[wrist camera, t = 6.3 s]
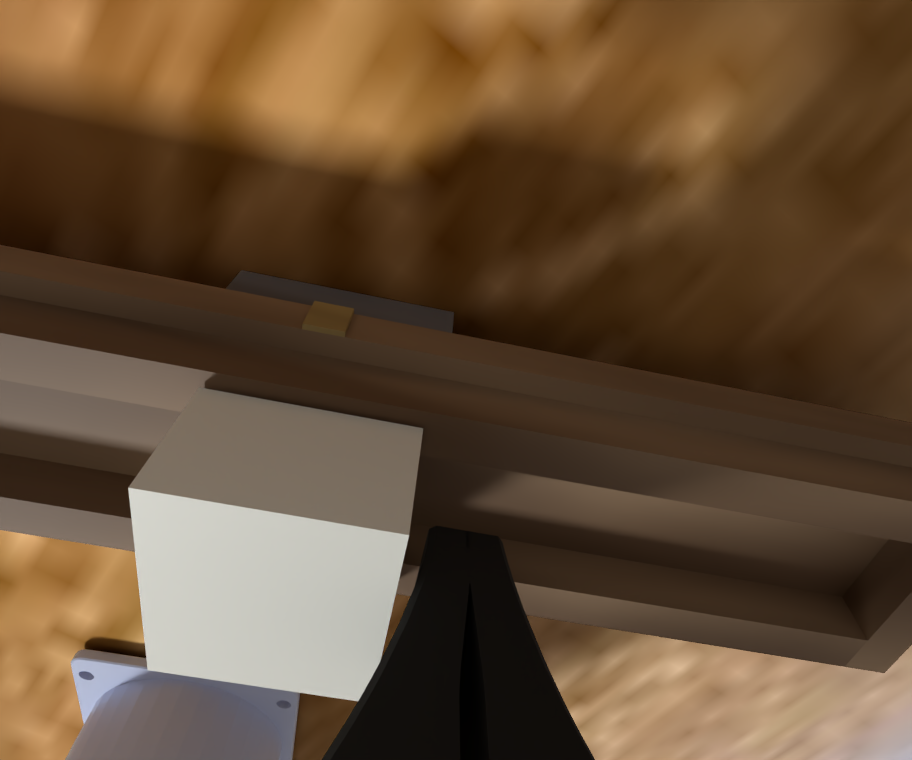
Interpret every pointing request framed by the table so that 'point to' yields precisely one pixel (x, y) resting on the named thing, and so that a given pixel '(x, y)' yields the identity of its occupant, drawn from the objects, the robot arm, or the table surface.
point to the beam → (480, 453)
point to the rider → (272, 543)
